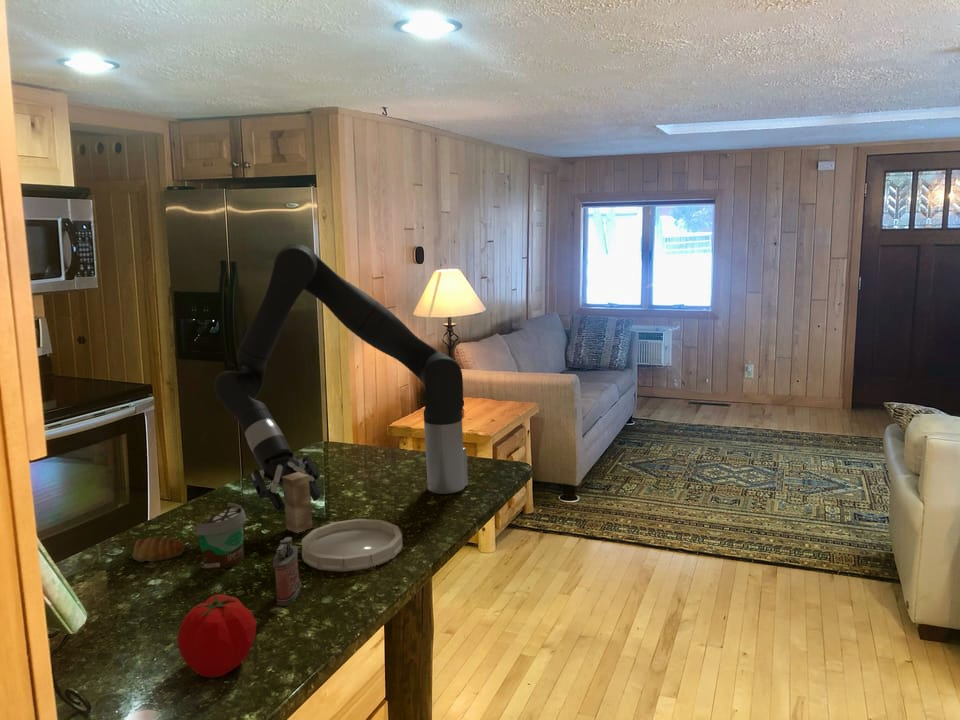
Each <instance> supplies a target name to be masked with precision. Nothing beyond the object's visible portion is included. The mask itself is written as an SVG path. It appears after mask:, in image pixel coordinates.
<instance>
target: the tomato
mask: <svg viewBox="0 0 960 720" xmlns="http://www.w3.org/2000/svg"><path fill="white" fill-rule="evenodd" d="M239 599H240V598H237V597H235V596H231V595H224V594H220V593H219V594H218V593H217V594H215V595H214V594H213V595H211V596H210V597H209V598H208V599H207V600H206V601H205V602H200V603H199V604H196V605H195V606H193V607H191V609H190V610H189V611H188V613H186V615H185V616H184V618H183V620H182V622H181V624H180V626H179V628H178V629H179V630H178V633H177V638H176V639H177V647H178V650H179V653H180V655H181V656H182V658H183V661H184V663H186V664H187V666H188V667H190V669H192V671H193V672H195V673H197V674H198V675H200V677H203V678H204V677H205V678H219V677H222V676H225V675H227V674H228V673H230V672H231V671H233V670H234V669H235V668H237V667H239V666H240V665H241V664H242V662H243V661H244V659H246V657H247V656H248V655H249V653H250V651H251V650H252V649H251V648H252V646H253V644H254V641H255V638H256V634H257V620H256V618H255V617H254V615H253V613H252V612H251V610H250V609H248V608H247V607H245V606H244V604H243V603H242V602H241V601H240V600H239Z"/></svg>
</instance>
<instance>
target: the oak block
mask: <svg viewBox="0 0 960 720" xmlns="http://www.w3.org/2000/svg"><path fill="white" fill-rule="evenodd" d="M282 481H283V485H282V490H283V503H284V504H285V509H284V511H285V512H284V513H285V514H284V515H285V524H286V530H287V529H288V531H289V530H291V531H293V532H295V533H298V534H300V533H299V532H301V533H303V532H302V531H304V532H306V531H305V530H307V529H310V528H313V527H314V526H313V516H312V515H313V514H312V513H313V512H312V504H311V503H312V502H311V495H310V489H309V477H308V475H305V474H303V473H300V472H296V473H293V474H289V475H286V476H283V477H282ZM310 530H311V529H310ZM291 531H290V532H291ZM307 531H308V530H307ZM293 532H292V533H293ZM295 533H294V534H295Z"/></svg>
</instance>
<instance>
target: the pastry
mask: <svg viewBox="0 0 960 720" xmlns="http://www.w3.org/2000/svg"><path fill="white" fill-rule="evenodd" d="M184 552H185V543H183V542H182V541H180V540H176V539H174V538H173V539H172V538H169V537H163V538H162V537H161V536H157V537H151V536H150V537H147V538H146V539H144V538H139V539H137V540H136V542H135V543H134V548H133V554H132V559H133V560H135V561H137V562H139V563H144V562H149V563H150V562H157V561H163V560H169V558H170V559H173V558H174V557H179V556H180V555H182V554H183V553H184Z"/></svg>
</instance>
